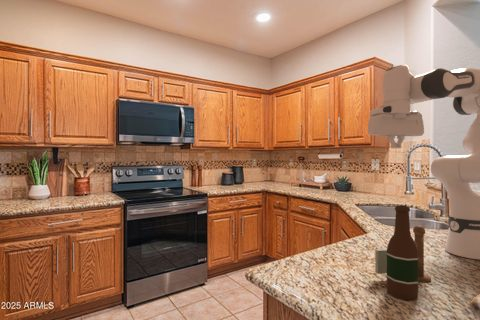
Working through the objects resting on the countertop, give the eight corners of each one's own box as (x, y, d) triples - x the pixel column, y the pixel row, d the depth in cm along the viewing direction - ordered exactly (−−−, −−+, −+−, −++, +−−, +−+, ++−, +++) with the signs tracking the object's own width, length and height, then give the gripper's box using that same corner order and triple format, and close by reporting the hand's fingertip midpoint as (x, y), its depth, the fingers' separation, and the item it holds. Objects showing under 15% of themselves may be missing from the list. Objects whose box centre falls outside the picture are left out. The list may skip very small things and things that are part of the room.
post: (420, 273, 88) (420, 223, 88) (435, 281, 82) (435, 227, 82) (403, 274, 87) (403, 223, 87) (418, 282, 81) (417, 228, 81)
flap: (411, 270, 85) (411, 248, 85) (414, 272, 84) (414, 249, 84) (375, 272, 84) (375, 249, 84) (377, 273, 82) (377, 250, 83)
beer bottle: (424, 303, 69) (424, 209, 69) (391, 299, 71) (391, 207, 71) (412, 289, 77) (412, 204, 77) (382, 286, 78) (382, 203, 78)
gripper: (415, 112, 104) (415, 149, 103) (365, 111, 101) (365, 148, 101) (428, 109, 97) (428, 148, 97) (376, 107, 95) (376, 147, 95)
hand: (396, 148), depth 99 cm, fingers closed
